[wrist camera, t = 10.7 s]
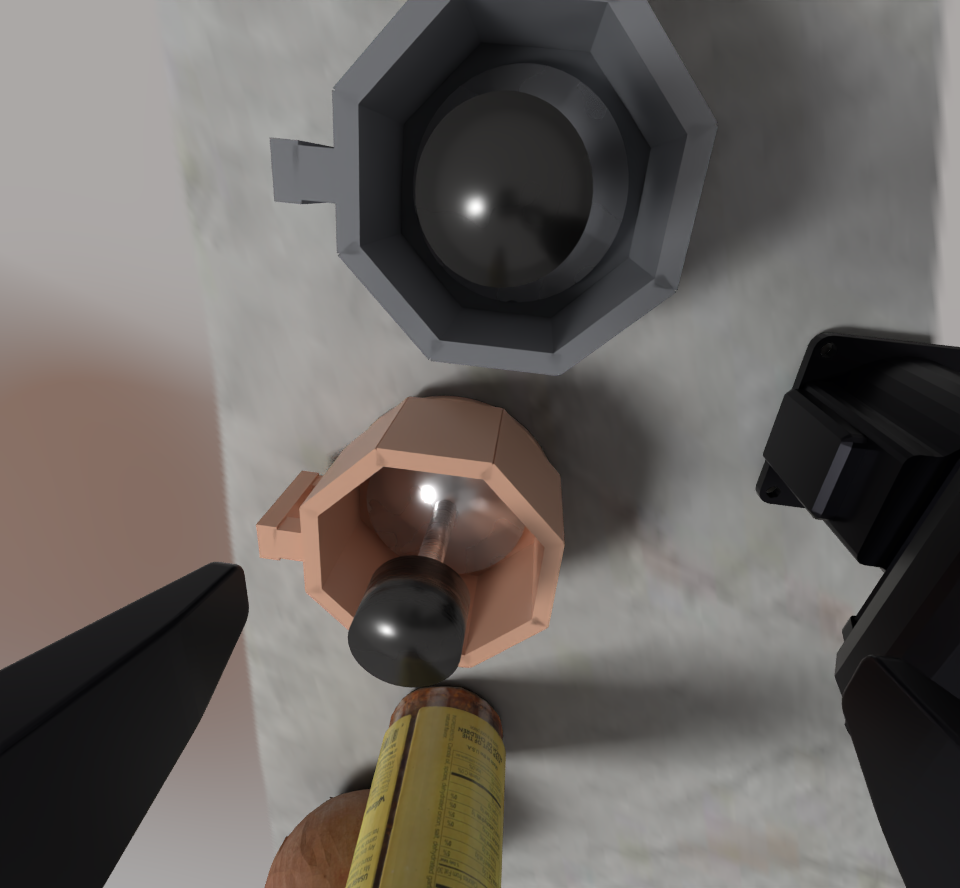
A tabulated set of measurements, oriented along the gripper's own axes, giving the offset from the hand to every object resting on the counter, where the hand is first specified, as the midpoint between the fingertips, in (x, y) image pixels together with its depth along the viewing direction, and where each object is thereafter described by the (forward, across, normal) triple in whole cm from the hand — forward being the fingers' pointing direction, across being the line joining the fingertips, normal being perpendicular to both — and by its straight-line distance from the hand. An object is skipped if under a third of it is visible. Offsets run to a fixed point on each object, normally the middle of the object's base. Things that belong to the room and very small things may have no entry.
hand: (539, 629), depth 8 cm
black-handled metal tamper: (+12, +3, +6) cm, 14 cm away
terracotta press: (+13, +3, +6) cm, 15 cm away
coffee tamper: (+12, +1, -6) cm, 14 cm away
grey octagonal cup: (+13, +1, -6) cm, 14 cm away
